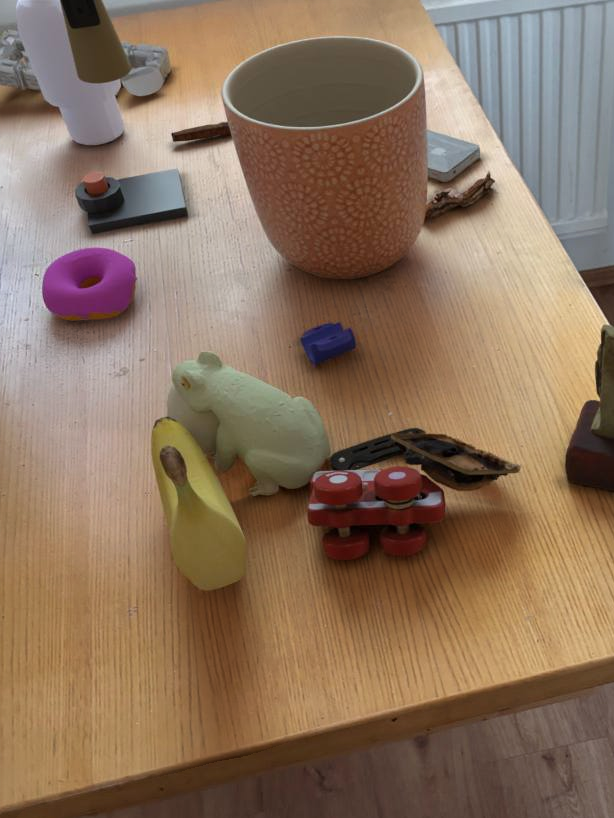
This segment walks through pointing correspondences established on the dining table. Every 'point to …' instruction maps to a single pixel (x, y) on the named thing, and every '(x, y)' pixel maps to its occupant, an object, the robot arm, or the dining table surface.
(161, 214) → the push button panel
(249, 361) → the dining table surface
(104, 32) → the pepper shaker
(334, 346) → the bracket
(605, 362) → the small statue on base
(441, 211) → the tree bark
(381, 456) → the folding knife
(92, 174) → the button
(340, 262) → the planter
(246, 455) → the figurine
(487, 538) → the dining table surface
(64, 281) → the donut
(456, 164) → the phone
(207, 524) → the banana
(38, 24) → the soap bottle
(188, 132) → the kitchen knife
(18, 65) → the architectural model
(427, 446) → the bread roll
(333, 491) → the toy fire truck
